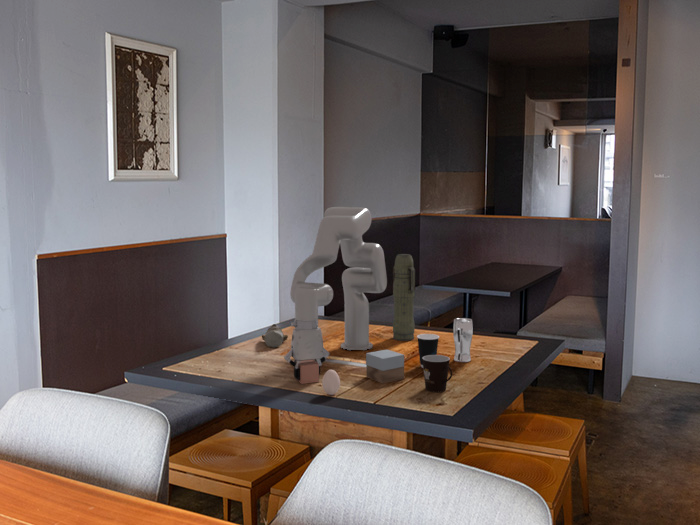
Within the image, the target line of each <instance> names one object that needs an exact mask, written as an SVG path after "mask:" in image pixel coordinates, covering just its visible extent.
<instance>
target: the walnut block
mask: <svg viewBox="0 0 700 525" xmlns="http://www.w3.org/2000/svg"><path fill="white" fill-rule="evenodd" d="M365 365H366V364H365ZM365 374H366V375H365V376H366V378H367V379H371V380H373V381H376V382H377V383H380V384H387V383H391V382H392V383H393V382H396V381H402V380H404V379H405V366H404V367H399V368H394V369H389V370H384V371H382V370H379V369H376V368H373V367H371V366H368V365H366V373H365Z"/></svg>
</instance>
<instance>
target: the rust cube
mask: <svg viewBox="0 0 700 525" xmlns="http://www.w3.org/2000/svg"><path fill="white" fill-rule="evenodd" d="M299 369H300V380H299V381H298V380H297V379H296V378H295V380H296V381H298V382H299V383H300V384H301V385H305V384H311V383H312V384H313V383H319V382H320V375H319V364H318V363H317V362H316V361H315V360H314V359H313V360H304V361H301V362H300V365H299Z"/></svg>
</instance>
